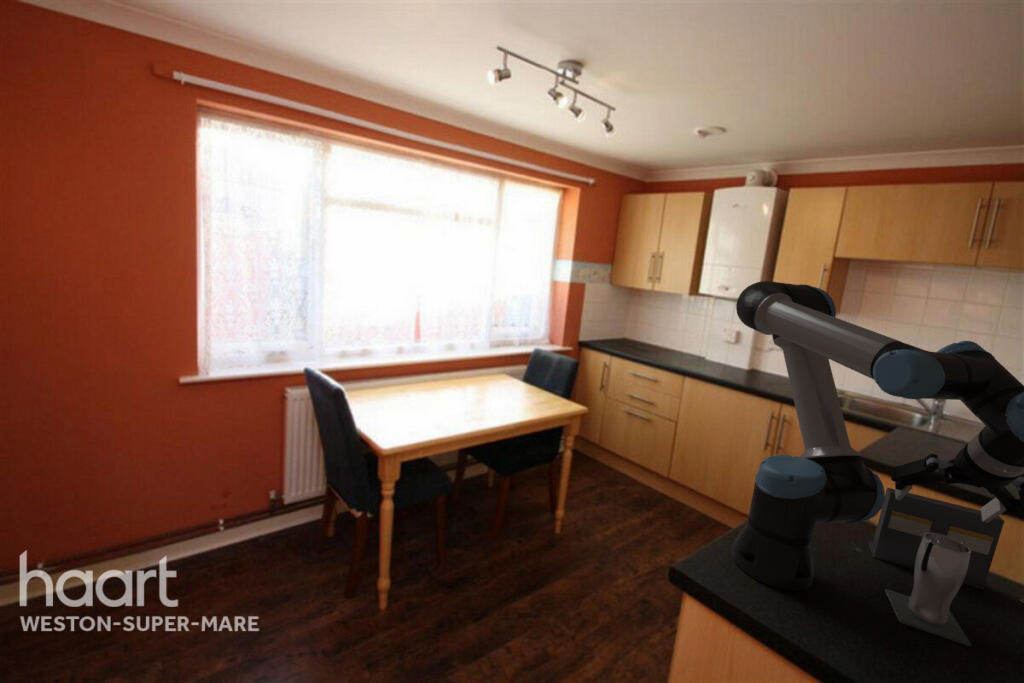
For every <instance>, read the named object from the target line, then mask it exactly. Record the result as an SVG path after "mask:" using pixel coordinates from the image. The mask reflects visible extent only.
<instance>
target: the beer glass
mask: <svg viewBox="0 0 1024 683" xmlns="http://www.w3.org/2000/svg"><path fill="white" fill-rule="evenodd" d="M970 554H971V550H970V548H969V547H967V546H966V545H964V544H963V543H961V542H959V541H957V540H955V539H953V538H950V537H948V536H945V535H941V534H937V533H931V532H926V533H924V535H923V538H922V540H921V543H920V545H919V548H918V551H917V554H916V558H915V566H914V569H913V571H914V572H913V587H912V592H911V594H910V597H909V599H908V601H907V602H906V608H907V610H908V611H909V612H910V613H911V614H912V615H914V616H915V617H917V618H918V619H920V620H922V621H924V622H926V623H929V624H931V625H935V626H940V627H944V626H947V624H948V613H949V610H950V607H951V604H952V602H953V600H954V598H955V597H956V595H957V593H959V591H960V588H961V587H962V585H963V584H962V583H963V582H964V579H965V577H966V574H967V570H968V566H969V560H970Z"/></svg>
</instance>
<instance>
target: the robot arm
mask: <svg viewBox="0 0 1024 683" xmlns="http://www.w3.org/2000/svg"><path fill="white" fill-rule="evenodd" d="M735 306H736V307H735V310H736V314H737V317H738V319H739V320H740V322H742V323H743V324H744V325H745V326H747V327H748V328H750V329H751V330H755V332H756V331H757V332H759V333H760V334H762V335H766V336H772V342H773V344H774V345H775V346H776V347H778V348H780V349H782V353H783V358H784V363H785V365H786V366H785V367H786V371H787V377H788V380H789V385H790V388H791V394H792V397H793V398H792V399H793V403H794V407H795V410H796V411H795V412H796V417H797V419H798V425H799V429H800V434H801V438H802V444H803V449H804V450H803V453H801V455H800V456H797V455H795V456H792V455H790V454H775V455H770V456H767V457H765V458H764V459H763V460H762V461H761V462H760V465H759V468H758V471H757V473H756V476H755V481H754V487H753V493H752V498H751V503H750V508H749V511H748V512H749V513H748V518H747V522H746V523H745V524H744V526H743V528H742V529H741V531H740V532H739V533H738V535H737V537H736V538H735V540H734V541H733V544H732V549H731V557H732V560H733V561H734V563H735V564H736V565H737V566H738V568H740V569H741V570H742V571H743V572H744V573H746V574H747V575H749V576H750V577H752V578H754V579H755V580H757V581H759V582H761V583H763V584H766V585H768V586H770V587H773V588H777V589H781V590H784V591H789V592H790V591H793V592H800V591H805V590H808V589H810V588H811V587H812V585H813V581H814V576H815V570H814V563H813V555H812V554H813V553H812V549H811V547H812V546H811V543H812V540H813V539H812V538H813V534H814V530H815V526H816V525H820V524H824V525H825V524H837V523H838V524H839V523H841V524H842V523H846V524H847V523H850V524H856V523H858V522H861V521H862V522H864V521H868V520H871V519H873V518H874V517H875V516H877V515H878V514H879V512H881V509H882V506H883V504H884V499H885V494H886V491H885V487H884V485H883V482H882V480H881V478H880V477H879V476H878V474H877V473H875V472H874V471H873V470H872V469H871V468H869V467H868V466H865V464H864V463H865V462H864V459H863V455H862V454H861V453H860V452H859V451H857V450H856V449H855V448H853V447H852V446H851V442H850V439H849V438H850V437H849V435H848V430H847V427H846V423H845V418H844V416H843V415H844V414H843V411H842V410H843V409H842V408H841V402H840V400H839V395H838V392H837V386H836V384H835V378H834V374H833V372H832V368H831V364H830V361H832V362H834V363H837V364H838V365H841V366H843V367H846V368H848V369H850V370H852V371H854V372H856V373H859V374H860V375H863V376H865V377H867V378H869V379H871V380H873V381H874V382H875V384H877V386H878V387H879V388H880V390H881V391H883V392H884V393H886V394H888V395H890V396H893V397H897V398H903V399H909V400H922V399H925V400H929V399H930V400H931V399H932V400H951V401H953V400H955V401H956V400H958V401H960V402H961V403H963V405H964V406H965V407H967V409H968V410H969V411H970V412H971V413H972V414H973V415H974V416H975V417H976V418H978V420H979V421H980V422H981V423H982V424H983V425H984V427H983V428H982V429H981V430H980V431H978V433H977V434H975V436H973V437H972V438H971V439H970V440H969V442H968V443H966V444H965V446H964V447H962V449H960V450H959V451H958V453H957V454H956V456H955V457H954V458H953V459H949V460H942V459H939V455H937V454H935V453H930V454H928V455H927V456H925V457H924V458H921V459H918V460H914V461H910V462H907V463H904V464H900V465H897V466H893V467H890V475H891V477H890V479H891V481H892V482H894V483H895V484H894V489H895V500H899V501H900V500H901V499H902V498H903V497H904V496H905V495H906V494H907V493H910V491H911V490H912V489H913V486H917V485H926V484H927V485H928V484H935V483H937V484H938V483H945V484H946V485H954V484H961V485H968V486H973V487H975V488H979V489H980V488H984V489H985V490H987V492H988V493H989V494H991V495H993V496H994V497H995V498H993V499H992V500H990V501H989V502H988V503H986V504H985V505H983V506H982V507H980V510H981V514H982V522H986V523H988V522H990V521H991V520H993V519H994V518H996V517H997V516H1001V515H1002V516H1005V515H1007V514H1009V515H1011V516H1017V515H1018V510H1020V511H1021V510H1022V512H1023V513H1024V384H1023V382H1021V381H1019V379H1017V378H1016V377H1015V376H1014V374H1012V373H1011V372H1010V371H1009V370H1008V369H1007V368H1006V367H1005V366H1004V365H1002V363H1001V362H999V360H998V359H996V356H994V355H993V354H992V353H990V352H989V351H987V350H986V349H985V348H984V347H982V346H980V345H979V344H978V343H977V342H975V341H972V340H962V341H958V342H952V343H950V344H948V345H946V346H944V347H941V348H940V349H938V351H929V350H926V349H922V348H921V347H920V348H919V347H917V346H914V345H912V344H909V343H905V342H903V341H901V340H898V339H895V338H892V337H891V336H887V335H884V334H882V333H879V332H877V331H874V330H871V329H868V328H865V327H862V326H860V325H856V324H854V323H852V322H848V321H846V320H843V319H841V318H837V317H836V316H837V309H836V305H835V302H834V300H833V298H832V297H831V295H830V294H829V293H828V292H826V291H825V290H824V289H821V288H819V287H816V286H812V285H809V284H793V283H785V282H777V281H772V280H764V281H757V282H755V283H752V284H750V285H747V287H745V289H743V290H742V291H741V293H740V294H739V296H738V297H737V301H736V304H735ZM1010 484H1012V485H1013V486H1014V487H1015V488H1016V490H1017V491H1018V497H1019V498H1015V496H1014V495H1013V494H1012V492H1010V491H1009V489H1007V487H1006V486H1009V485H1010Z"/></svg>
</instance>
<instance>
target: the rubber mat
mask: <svg viewBox="0 0 1024 683" xmlns="http://www.w3.org/2000/svg"><path fill="white" fill-rule="evenodd" d="M884 590H885V592H884V593H885V594H886V597H887V599H888V600H889V602H890V605H891V607H892V609H893V611H894V613H895V616H896V617H897V619H898V622H899V623H900V624H903V625H906V626H909V627H912V628H914V629H918V630H921V631H924V632H927V633H930V634H933V635H935V636H939V637H940V638H941V637H942V638H945V639H947V640H950V641H952V642H956V643H959V644H962V645H965V646H967V647H971V646H972V643H971V641H970V639H969V638H968V637H967V635H966V633H965V631H964V630H963V629H962V628H961V625H960V624H959V622H958V620H956V617H955V616H954V615H953V613H952V612H951V610H950V609H949V613H948V624H947V626H944V627H940V626H935V625H931V624H929V623H926V622H924V621H922V620H920V619H918V618H917V617H915V616H914V615H912V614H911V613H910V612H909V611H908V610H907V608H906V602H907V601H908V599H909V597H910V596H911V595H910V596H909V595H905V594H903V593H900V592H897V591H894V590H890V589H887V588H885V589H884Z"/></svg>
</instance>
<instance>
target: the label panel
mask: <svg viewBox="0 0 1024 683" xmlns="http://www.w3.org/2000/svg"><path fill="white" fill-rule="evenodd" d="M1004 524H1005V520H1004V519H1003V518H1002V517H1001V515H999V516H997V517H996V518H994V519H993V520H991V521H990V522H988V523H986V522H982V514H981V509H978V508H977V509H976V508H972V507H968V506H965V505H961V504H960V505H959V504H957V503H952V502H948V501H945V500H941V499H940V500H939V499H936V498H932V497H927V496H922V495H919V494H916V493H913V492H912V493H911V492H908V493H907V494H906V495H905V496H904V497H903V498H902V499H901V500H900V501H899V500H895V488H891V487H887V488H886V491H885V499H884V504H883V506H882V508H881V510H880V514H879V518H878V521H877V524H876V525H877V526H876V529H875V533H874V536H873V537H874V538H873V540H872V539H870V540H869V541H868V545H869V546H868V548H869V547H870V548H869V550H870V552H871V555H872V554H873V555H872V556H874V557H875V559H878V560H881V561H884V560H885V562H887V563H891V564H894V565H898V566H900V567H901V566H902V567H905V568H908V569H911V570H914V566H915V558H916V554H917V551H918V548H919V545H920V543H921V540H922V538H923V535H924V533H926V532H931V533H937V534H941V535H945V536H948V537H950V538H953V539H955V540H957V541H959V542H961V543H963V544H964V545H966V546H967V547H969V548H970V550H971V554H970V560H969V566H968V570H967V574H966V577H965V579H964V582H963V583H962V585H964V584H966V585H965V586H968V585H969V586H968V587H971V586H973V587H972V588H974V587H977V588H976V589H978V588H981V589H983V590H984V588H985V585H986V582H987V580H988V579H987V578H988V575H989V572H990V570H991V566H992V563H993V559H994V555H995V553H996V551H997V547H998V543H999V540H1000V537H1001V534H1002V530H1003V528H1004V527H1003V526H1004ZM874 557H873V558H874ZM981 589H980V590H981Z"/></svg>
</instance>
